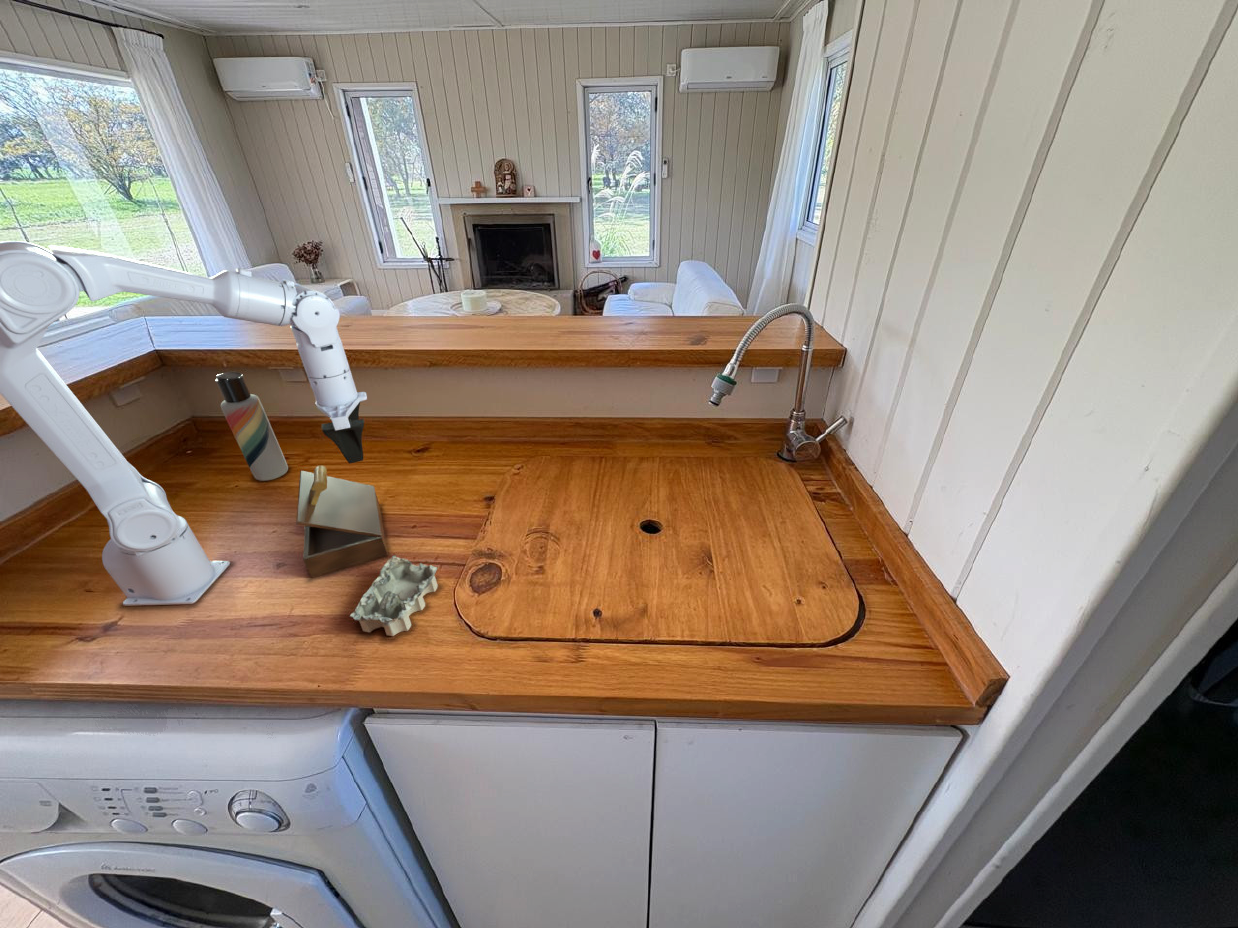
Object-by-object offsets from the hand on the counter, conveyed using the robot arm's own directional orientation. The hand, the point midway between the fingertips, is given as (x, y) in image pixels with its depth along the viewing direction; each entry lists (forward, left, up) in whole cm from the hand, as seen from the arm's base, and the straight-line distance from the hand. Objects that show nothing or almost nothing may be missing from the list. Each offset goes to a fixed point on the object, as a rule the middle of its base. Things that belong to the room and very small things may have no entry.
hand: (355, 450), depth 81 cm
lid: (+1, -10, -4) cm, 10 cm away
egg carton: (+13, -24, -11) cm, 29 cm away
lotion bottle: (-23, +10, -11) cm, 27 cm away
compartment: (0, -10, -10) cm, 14 cm away
